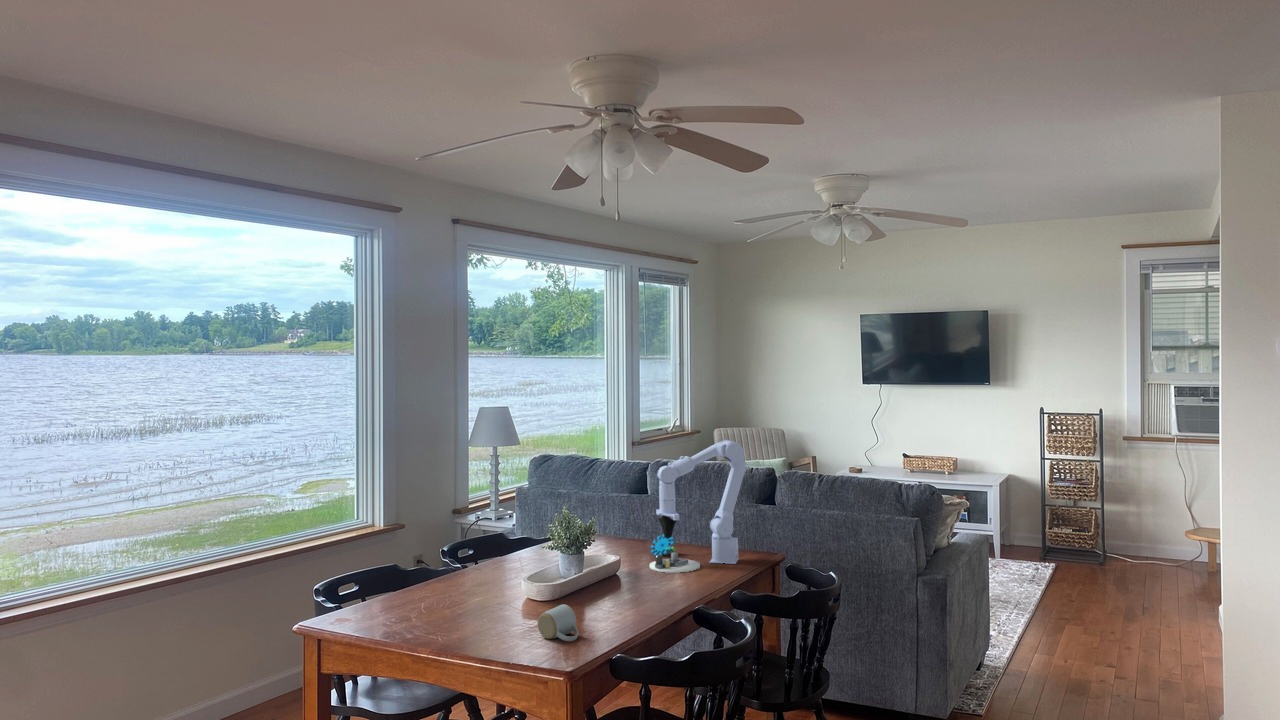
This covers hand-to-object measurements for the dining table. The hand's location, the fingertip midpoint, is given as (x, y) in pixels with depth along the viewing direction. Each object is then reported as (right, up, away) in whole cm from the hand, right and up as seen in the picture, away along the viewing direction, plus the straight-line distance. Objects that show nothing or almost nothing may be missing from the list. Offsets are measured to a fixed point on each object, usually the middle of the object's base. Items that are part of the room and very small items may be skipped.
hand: (668, 537), depth 314 cm
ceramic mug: (-31, -10, -82) cm, 88 cm away
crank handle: (0, -9, -6) cm, 10 cm away
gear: (-1, -10, +16) cm, 19 cm away
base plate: (+2, -10, -4) cm, 11 cm away
